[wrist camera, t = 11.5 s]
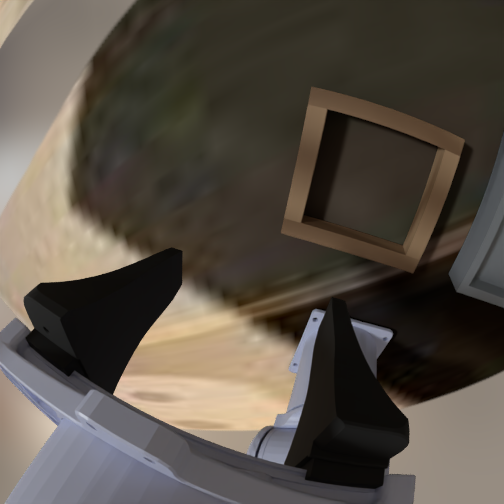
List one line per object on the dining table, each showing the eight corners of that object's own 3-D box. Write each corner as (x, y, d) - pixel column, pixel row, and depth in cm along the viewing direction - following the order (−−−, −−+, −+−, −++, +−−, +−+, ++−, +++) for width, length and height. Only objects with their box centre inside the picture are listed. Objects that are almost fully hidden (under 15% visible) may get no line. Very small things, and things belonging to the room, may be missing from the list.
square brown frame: (409, 262, 20) (413, 273, 19) (284, 224, 22) (280, 233, 21) (457, 136, 15) (464, 139, 13) (313, 88, 16) (311, 86, 15)
